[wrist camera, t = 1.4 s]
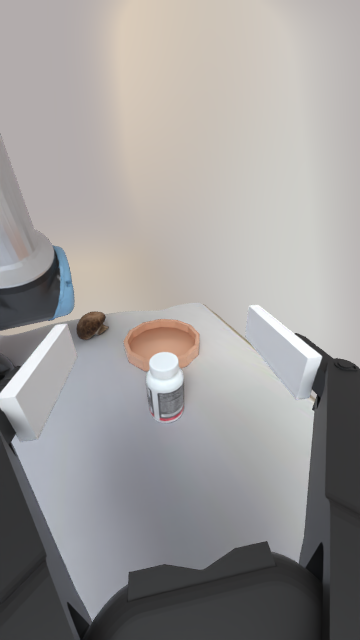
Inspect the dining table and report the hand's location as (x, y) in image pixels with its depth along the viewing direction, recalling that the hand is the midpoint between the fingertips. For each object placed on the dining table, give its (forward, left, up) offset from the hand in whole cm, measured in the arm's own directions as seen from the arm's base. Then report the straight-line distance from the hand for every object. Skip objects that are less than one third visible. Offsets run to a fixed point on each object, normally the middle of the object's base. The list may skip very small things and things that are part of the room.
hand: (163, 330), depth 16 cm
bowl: (-17, +18, -20) cm, 32 cm away
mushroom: (-34, +12, -21) cm, 42 cm away
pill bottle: (-6, +6, -21) cm, 22 cm away
